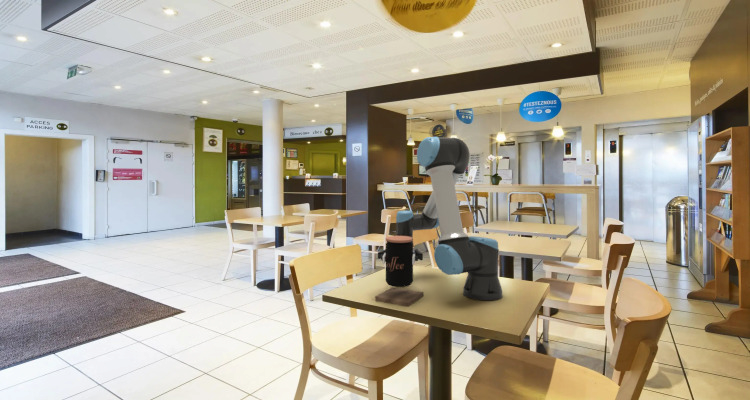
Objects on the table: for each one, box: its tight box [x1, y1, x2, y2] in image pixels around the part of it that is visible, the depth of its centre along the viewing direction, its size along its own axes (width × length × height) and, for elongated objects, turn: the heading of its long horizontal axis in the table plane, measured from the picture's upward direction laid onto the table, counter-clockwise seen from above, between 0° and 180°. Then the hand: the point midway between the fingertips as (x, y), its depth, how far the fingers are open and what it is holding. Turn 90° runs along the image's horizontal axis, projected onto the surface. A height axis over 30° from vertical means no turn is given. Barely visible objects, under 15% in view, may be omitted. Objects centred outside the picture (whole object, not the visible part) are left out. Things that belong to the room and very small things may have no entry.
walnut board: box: [374, 286, 424, 307], centre depth 150 cm, size 14×14×2 cm
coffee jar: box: [385, 235, 414, 288], centre depth 149 cm, size 11×11×18 cm
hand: (398, 260), depth 145 cm, fingers closed on coffee jar, 11 cm apart
